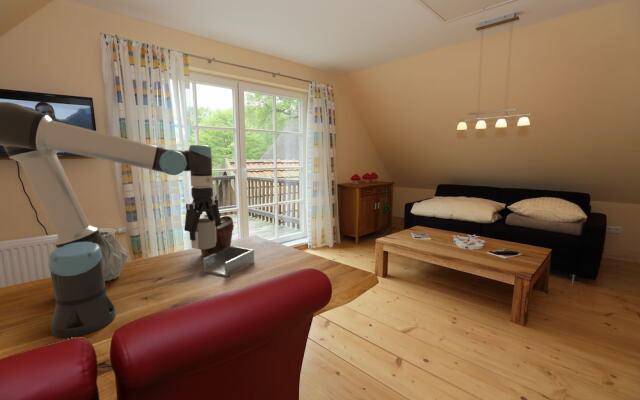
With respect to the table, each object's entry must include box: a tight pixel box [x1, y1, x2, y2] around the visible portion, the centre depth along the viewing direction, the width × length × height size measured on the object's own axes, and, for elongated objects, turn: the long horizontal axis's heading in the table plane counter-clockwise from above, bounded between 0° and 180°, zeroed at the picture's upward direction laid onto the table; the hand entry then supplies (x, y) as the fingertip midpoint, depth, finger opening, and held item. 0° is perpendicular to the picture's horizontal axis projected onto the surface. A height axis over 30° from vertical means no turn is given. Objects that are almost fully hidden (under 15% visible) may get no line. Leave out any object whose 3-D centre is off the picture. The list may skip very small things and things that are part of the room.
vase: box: [99, 231, 130, 282], centre depth 119 cm, size 16×16×18 cm
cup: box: [196, 217, 216, 250], centre depth 115 cm, size 8×8×10 cm
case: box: [200, 215, 235, 258], centre depth 147 cm, size 18×20×18 cm
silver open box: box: [202, 245, 255, 278], centre depth 132 cm, size 18×12×6 cm
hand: (204, 244), depth 116 cm, fingers closed on cup, 8 cm apart
